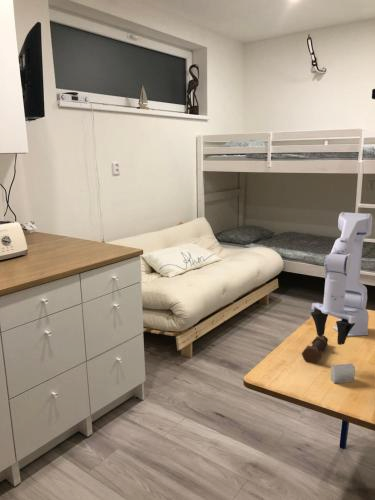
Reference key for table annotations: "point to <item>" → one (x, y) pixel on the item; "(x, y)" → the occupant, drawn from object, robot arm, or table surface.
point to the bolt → (315, 349)
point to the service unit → (342, 373)
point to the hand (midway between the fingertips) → (330, 339)
